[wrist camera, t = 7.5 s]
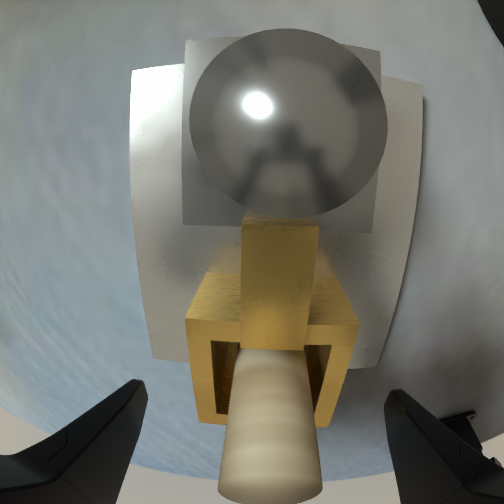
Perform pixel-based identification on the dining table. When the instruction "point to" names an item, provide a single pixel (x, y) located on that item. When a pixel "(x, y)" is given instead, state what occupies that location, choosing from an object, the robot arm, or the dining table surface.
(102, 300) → the dining table surface
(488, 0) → the mug
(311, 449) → the pin
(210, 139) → the chrome knob plate
